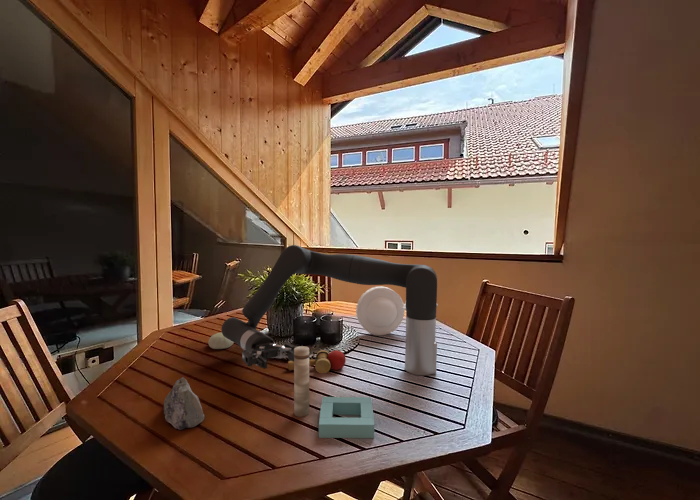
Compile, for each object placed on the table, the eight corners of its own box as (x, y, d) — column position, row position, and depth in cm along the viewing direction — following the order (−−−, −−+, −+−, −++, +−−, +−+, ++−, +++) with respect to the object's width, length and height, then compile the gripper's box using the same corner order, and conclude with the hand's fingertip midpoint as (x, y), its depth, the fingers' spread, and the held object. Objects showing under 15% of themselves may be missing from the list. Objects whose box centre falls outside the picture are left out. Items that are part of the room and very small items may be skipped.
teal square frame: (370, 408, 89) (371, 397, 89) (374, 438, 77) (374, 424, 77) (322, 408, 89) (322, 396, 89) (318, 437, 77) (318, 424, 77)
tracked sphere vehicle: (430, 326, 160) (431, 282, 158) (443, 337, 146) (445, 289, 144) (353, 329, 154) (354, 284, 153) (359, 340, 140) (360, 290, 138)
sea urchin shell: (241, 338, 136) (230, 328, 130) (230, 357, 131) (219, 347, 125) (223, 335, 139) (211, 324, 134) (212, 353, 135) (200, 343, 129)
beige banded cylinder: (310, 408, 89) (310, 346, 88) (308, 416, 85) (308, 351, 84) (295, 408, 89) (295, 346, 88) (292, 416, 85) (292, 351, 84)
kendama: (288, 380, 108) (347, 371, 109) (286, 359, 108) (344, 350, 110) (291, 374, 115) (346, 365, 117) (288, 354, 116) (343, 346, 117)
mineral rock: (169, 404, 90) (167, 365, 90) (213, 401, 92) (212, 363, 91) (149, 434, 78) (148, 389, 77) (201, 429, 80) (200, 386, 79)
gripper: (233, 336, 103) (255, 353, 91) (278, 328, 112) (304, 342, 99) (233, 361, 104) (255, 382, 91) (278, 351, 113) (304, 368, 100)
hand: (280, 361), depth 95 cm, fingers open, 8 cm apart
